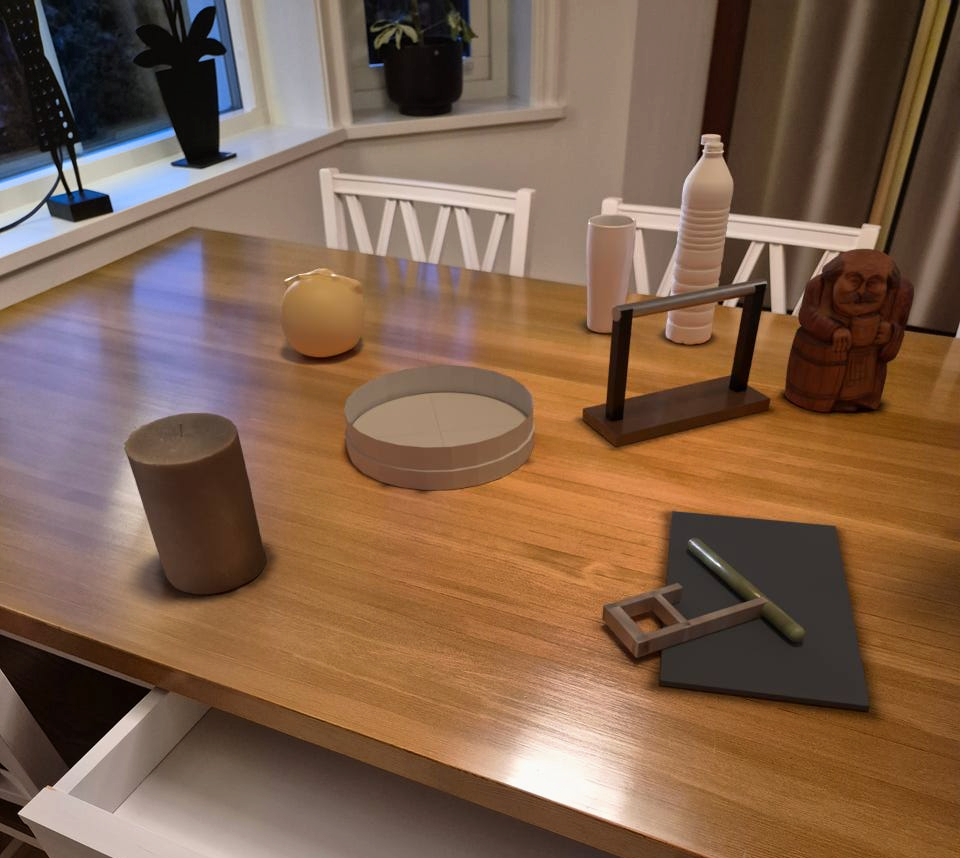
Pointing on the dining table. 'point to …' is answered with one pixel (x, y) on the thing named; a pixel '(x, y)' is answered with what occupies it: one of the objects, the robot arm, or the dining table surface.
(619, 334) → the rail stand
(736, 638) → the mat
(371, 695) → the dining table surface
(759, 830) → the dining table surface
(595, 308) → the drinking glass
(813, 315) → the wooden figurine
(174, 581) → the pillar candle
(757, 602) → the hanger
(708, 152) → the water bottle
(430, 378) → the dish
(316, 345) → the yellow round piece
